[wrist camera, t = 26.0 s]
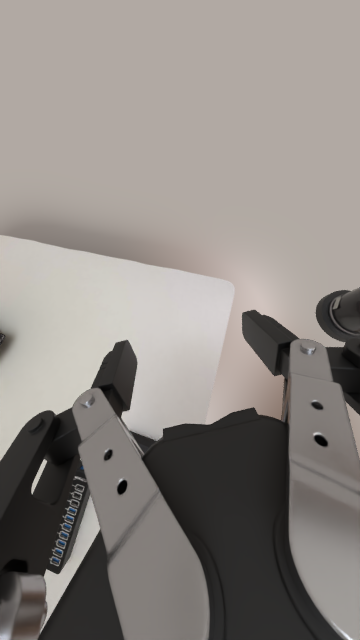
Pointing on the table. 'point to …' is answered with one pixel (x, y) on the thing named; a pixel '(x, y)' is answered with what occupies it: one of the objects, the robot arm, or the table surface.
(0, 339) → the camera
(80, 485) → the multiport hub
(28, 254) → the table surface
